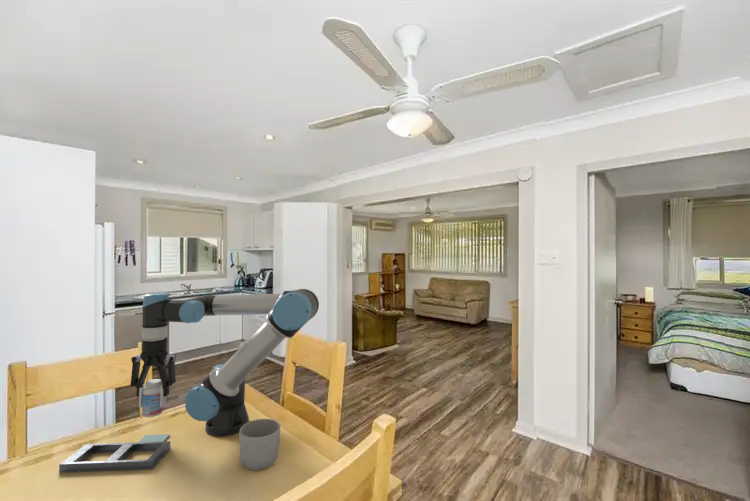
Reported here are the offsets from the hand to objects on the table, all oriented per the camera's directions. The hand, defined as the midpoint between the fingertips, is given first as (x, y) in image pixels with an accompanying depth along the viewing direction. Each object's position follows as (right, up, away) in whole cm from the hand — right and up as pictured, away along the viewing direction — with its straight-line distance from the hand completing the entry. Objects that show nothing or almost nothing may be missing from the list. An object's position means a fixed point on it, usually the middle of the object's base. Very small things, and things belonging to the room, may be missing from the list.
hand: (152, 405), depth 120 cm
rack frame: (-4, -12, -11) cm, 17 cm away
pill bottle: (0, -3, 0) cm, 3 cm away
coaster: (0, -13, 0) cm, 13 cm away
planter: (+40, -14, -10) cm, 43 cm away
